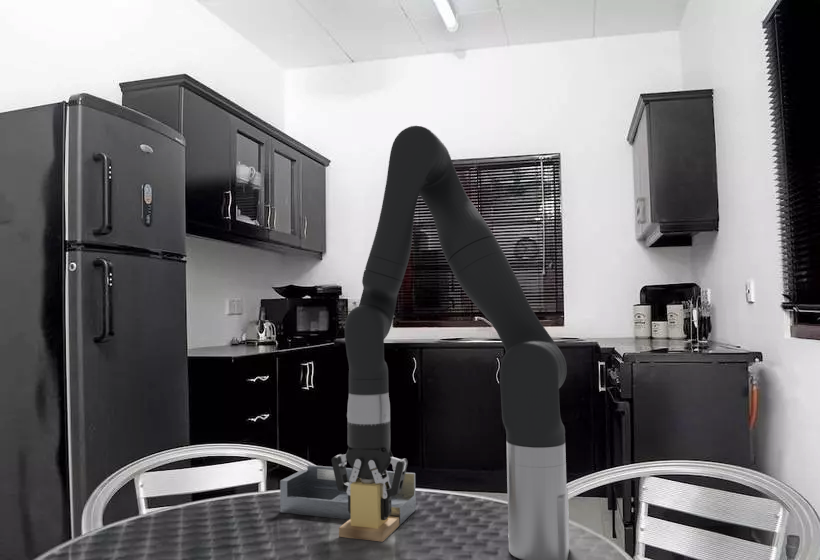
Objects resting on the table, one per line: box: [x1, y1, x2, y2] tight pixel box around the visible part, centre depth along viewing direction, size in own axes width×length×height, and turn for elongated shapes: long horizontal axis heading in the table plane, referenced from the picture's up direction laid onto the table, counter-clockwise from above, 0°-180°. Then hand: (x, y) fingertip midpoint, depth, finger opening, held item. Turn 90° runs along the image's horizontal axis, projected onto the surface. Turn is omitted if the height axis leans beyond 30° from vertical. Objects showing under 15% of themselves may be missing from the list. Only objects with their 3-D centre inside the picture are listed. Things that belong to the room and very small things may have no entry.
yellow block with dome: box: [350, 477, 388, 529], centre depth 106 cm, size 5×5×8 cm
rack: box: [279, 464, 417, 526], centre depth 117 cm, size 24×9×7 cm, turn 71°
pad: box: [338, 516, 400, 542], centre depth 106 cm, size 8×8×2 cm
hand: (369, 516), depth 106 cm, fingers closed on yellow block with dome, 5 cm apart
